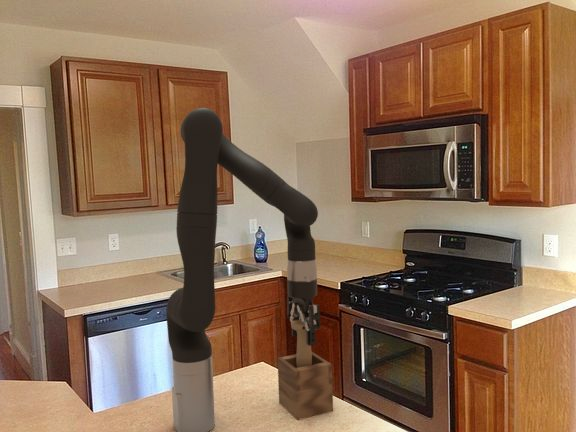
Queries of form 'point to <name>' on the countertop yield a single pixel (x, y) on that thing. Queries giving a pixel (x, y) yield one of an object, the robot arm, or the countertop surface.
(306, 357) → the handle
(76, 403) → the countertop surface
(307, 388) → the wooden box
